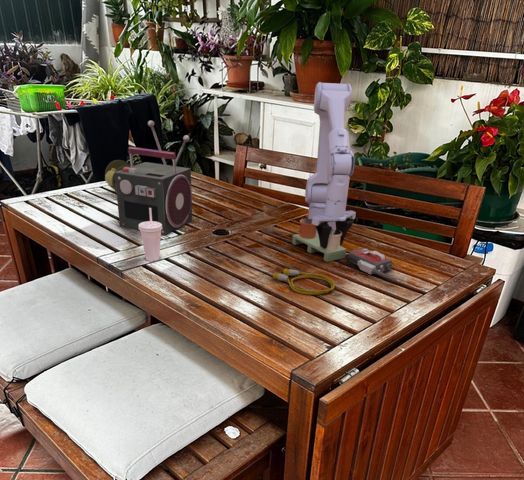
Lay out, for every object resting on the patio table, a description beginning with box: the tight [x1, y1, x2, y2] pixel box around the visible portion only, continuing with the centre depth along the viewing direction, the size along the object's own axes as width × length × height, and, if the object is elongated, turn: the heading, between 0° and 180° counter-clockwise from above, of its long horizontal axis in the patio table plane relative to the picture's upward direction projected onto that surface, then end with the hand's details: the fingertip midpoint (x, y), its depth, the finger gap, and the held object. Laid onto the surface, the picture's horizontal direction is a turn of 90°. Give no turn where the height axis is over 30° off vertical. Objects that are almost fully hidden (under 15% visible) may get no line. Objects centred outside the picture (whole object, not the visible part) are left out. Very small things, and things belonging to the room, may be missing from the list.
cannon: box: [104, 159, 131, 192], centre depth 199 cm, size 25×12×11 cm, turn 119°
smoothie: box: [138, 208, 162, 262], centre depth 141 cm, size 6×6×14 cm
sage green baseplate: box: [291, 233, 347, 263], centre depth 155 cm, size 7×17×3 cm, turn 34°
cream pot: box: [325, 229, 342, 250], centre depth 149 cm, size 6×6×5 cm
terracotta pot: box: [298, 218, 316, 239], centre depth 157 cm, size 6×6×5 cm
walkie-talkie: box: [344, 247, 397, 282], centre depth 143 cm, size 9×4×20 cm
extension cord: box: [272, 267, 336, 296], centre depth 134 cm, size 12×16×2 cm
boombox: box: [114, 120, 193, 236], centre depth 163 cm, size 18×21×30 cm
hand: (330, 245), depth 150 cm, fingers closed on cream pot, 5 cm apart
